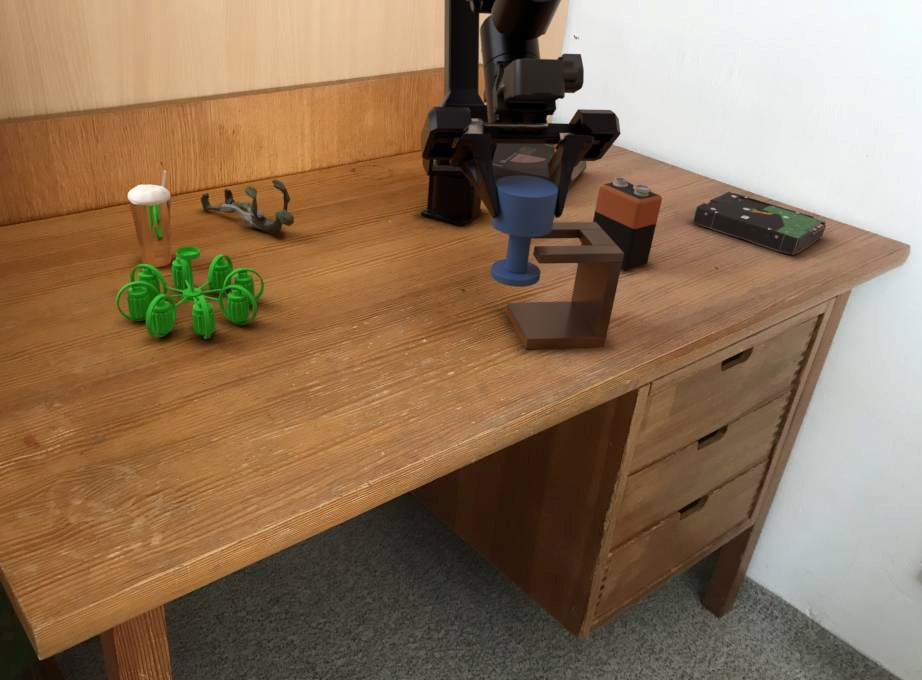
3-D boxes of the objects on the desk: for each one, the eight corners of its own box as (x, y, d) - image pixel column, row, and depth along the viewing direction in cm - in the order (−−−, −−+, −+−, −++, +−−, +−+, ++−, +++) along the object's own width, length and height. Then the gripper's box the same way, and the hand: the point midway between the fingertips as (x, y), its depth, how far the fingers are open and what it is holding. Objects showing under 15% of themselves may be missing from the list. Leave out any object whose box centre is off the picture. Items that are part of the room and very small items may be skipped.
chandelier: (110, 291, 89) (100, 231, 85) (246, 273, 95) (243, 216, 91) (130, 358, 78) (120, 293, 74) (284, 334, 84) (282, 272, 80)
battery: (624, 272, 101) (641, 194, 96) (585, 252, 106) (599, 176, 100) (648, 265, 103) (666, 188, 98) (609, 246, 108) (624, 171, 103)
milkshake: (190, 256, 98) (181, 174, 92) (160, 273, 94) (149, 188, 88) (159, 248, 99) (149, 167, 94) (128, 264, 95) (116, 180, 90)
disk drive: (691, 225, 116) (794, 257, 108) (695, 206, 115) (800, 237, 107) (723, 208, 123) (822, 237, 115) (727, 190, 122) (829, 218, 113)
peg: (475, 278, 83) (484, 187, 77) (501, 258, 87) (512, 170, 82) (529, 295, 80) (543, 202, 75) (553, 273, 85) (568, 184, 79)
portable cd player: (554, 206, 119) (558, 179, 117) (447, 183, 125) (449, 157, 123) (585, 175, 132) (589, 150, 130) (486, 155, 138) (488, 131, 136)
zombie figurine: (229, 155, 109) (304, 187, 101) (231, 204, 113) (303, 239, 105) (195, 162, 106) (269, 196, 98) (198, 212, 109) (270, 249, 101)
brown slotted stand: (525, 349, 84) (540, 254, 78) (506, 312, 90) (517, 222, 85) (604, 346, 85) (624, 253, 80) (579, 310, 92) (596, 221, 86)
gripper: (434, 14, 72) (447, 178, 69) (633, 21, 75) (655, 179, 72) (415, 84, 83) (426, 229, 80) (590, 88, 86) (607, 228, 83)
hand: (527, 216), depth 79 cm, fingers closed on peg, 6 cm apart
